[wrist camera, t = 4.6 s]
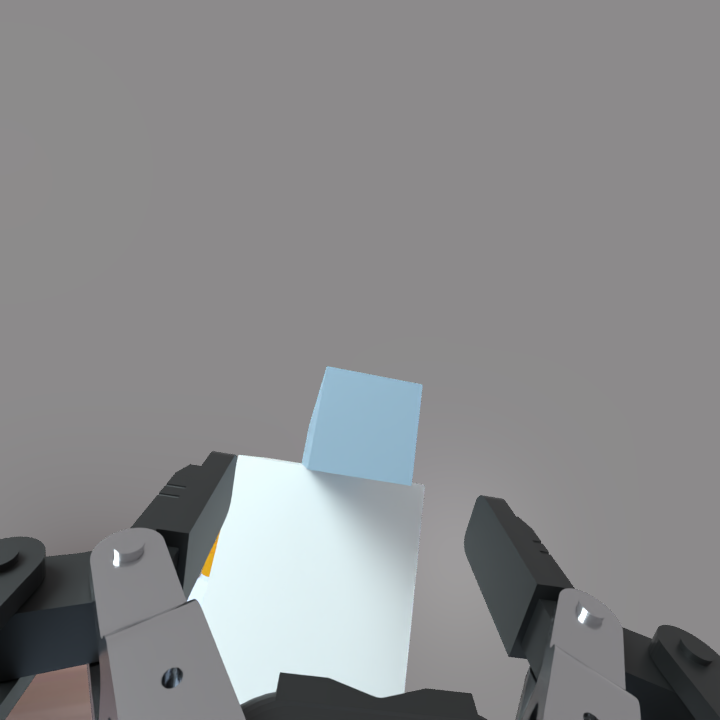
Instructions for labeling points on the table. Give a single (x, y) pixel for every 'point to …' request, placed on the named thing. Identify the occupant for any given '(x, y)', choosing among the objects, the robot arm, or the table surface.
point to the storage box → (314, 578)
